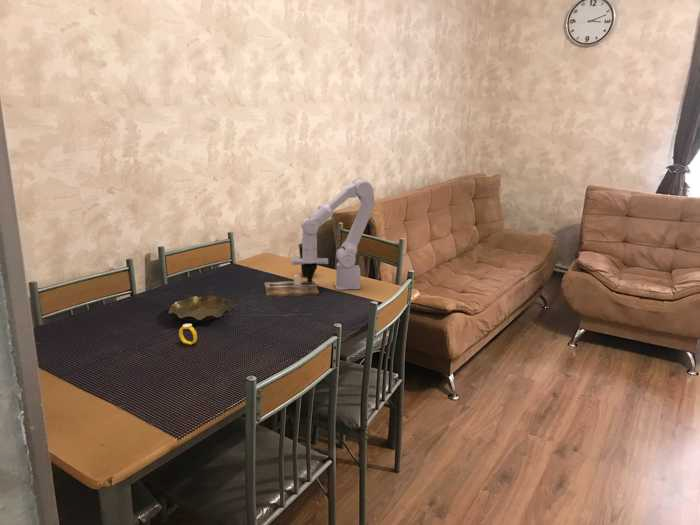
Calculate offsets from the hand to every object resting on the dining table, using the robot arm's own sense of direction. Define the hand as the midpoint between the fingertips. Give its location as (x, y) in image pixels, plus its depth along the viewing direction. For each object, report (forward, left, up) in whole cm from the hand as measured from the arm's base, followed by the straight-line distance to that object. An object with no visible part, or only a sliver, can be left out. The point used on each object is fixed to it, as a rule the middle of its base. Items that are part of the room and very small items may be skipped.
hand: (309, 281), depth 219 cm
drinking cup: (-2, -18, -3) cm, 18 cm away
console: (+7, 0, -3) cm, 8 cm away
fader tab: (+5, 0, -2) cm, 5 cm away
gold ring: (+43, +47, -3) cm, 64 cm away
